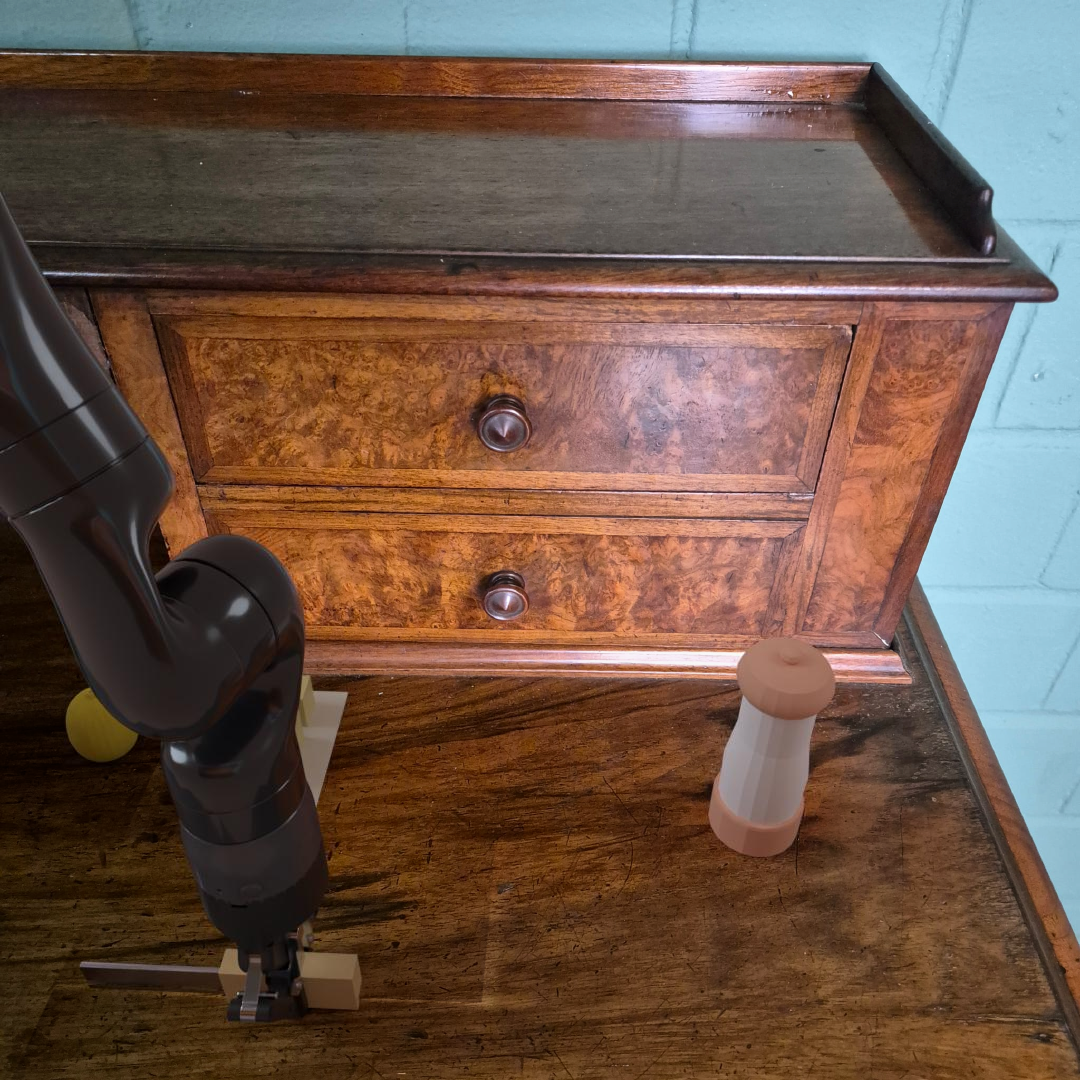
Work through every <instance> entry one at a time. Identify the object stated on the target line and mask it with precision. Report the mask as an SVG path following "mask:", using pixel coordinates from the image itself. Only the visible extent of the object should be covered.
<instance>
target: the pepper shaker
mask: <svg viewBox="0 0 1080 1080" xmlns="http://www.w3.org/2000/svg"><path fill="white" fill-rule="evenodd" d="M735 676H736V680H737V683H738V687H739V690H740V692H741V694H742V698H741V702H740V708H739V713H738V716H737V717H738V718H737V721H736V723H735V725H734V727H733V728H732V729H733V730H732V732H731V734H730V736H729V738H728V741H727V743H726V745H725V747H724V749H723V755H722V761H721V762H722V763H721V769H720V770H719V772H717V774H716V776H715V778H714V781H713V786H712V791H711V796H710V803H709V808H708V813H707V815H708V819H709V825H710V827H711V829H712V831H713V832H714V834H715V836H716V837H717V838H718V839H719V840H720V842H722V843H723V844H724V845H725V846H727V848H729V849H731V850H733V851H735V852H737V853H739V854H741V855H745V856H749V857H754V858H769V857H773V856H777V855H779V854H781V853H784V852H785V851H786V850H788V849H789V848H790V847H791V846H792V844H793V843H794V841H795V840H796V837H797V835H798V831H799V827H800V824H801V821H802V818H803V813H804V810H805V796H804V793H805V789H806V786H807V783H808V780H809V770H810V742H811V740H812V739H811V738H812V735H813V730H814V727H815V722H816V719H817V714H818V713H820V712H821V711H823V710H824V709H826V707H827V706H829V704H830V703H831V702H832V699H833V698H834V696H835V694H836V676H835V673H834V670H833V668H832V665H831V664H830V662H829V660H828V659H827V658H826V657H825V656H824V654H823V653H822V652H821V651H820V650H819V649H818V648H816V647H815V646H813V645H811V644H810V643H807V642H806V641H803V640H800V639H796V638H792V637H787V636H772V637H769V638H766V639H762V640H759V641H758V642H757V643H755V644H753V645H752V646H750V647H748V648H747V649H746V651H745V652H744V653H743V655H742V656H741V658H740V659H739V661H738V663H737V665H736V672H735Z"/></svg>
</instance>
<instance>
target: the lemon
mask: <svg viewBox="0 0 1080 1080" xmlns="http://www.w3.org/2000/svg"><path fill="white" fill-rule="evenodd" d="M65 728H66V733H67V737H68V740H69V742H70V744H71V745H72V747H73V748H74V749H75V751H76V752H77V753H78V754H79V755H80V756H82V757H83V758H85V759H86V760H88V761H92V762H95V763H107V762H112V761H115V760H118V759H119V758H122V757H123V756H125V755H127V754H128V753H129V752H130V751H131V750H132V748H133V747H134V745H135V744H136V742H137V740H138V737H139V734H137V733H135V732H133V731H132V730H130V729H128V728H127V727H125V726H124V725H122V724H121V723H120V722H119V721H117V720H116V719H115V718H114V717H113V716H112V715H111V714H110V713H109V712H108V711H107V710H106V709H105V708H104V707H103V705H102V704H101V703H100V702H99V701H98V699H97V698H96V697H95V695H94V693H93V692H92V690H91V689H90V687H87V688H84V689H83V690H81V691H80V692H79V693H78V694H76V696H74V698H73V699H72V700H71V702H70V703H69V705H68V707H67V710H66V715H65Z"/></svg>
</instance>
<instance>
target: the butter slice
mask: <svg viewBox="0 0 1080 1080" xmlns="http://www.w3.org/2000/svg"><path fill="white" fill-rule="evenodd" d="M313 691H314V688H313V683H312V678H311V675H308V674H307V675H306V674H305V675H304V674H303V675H302V685H301V696H300V703H299V708H298V710H299V713H300V719H301V724H302V726H308V724H309V720H310V717H311V714H312V711H313V708H314V704H315V699H314V694H313Z"/></svg>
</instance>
